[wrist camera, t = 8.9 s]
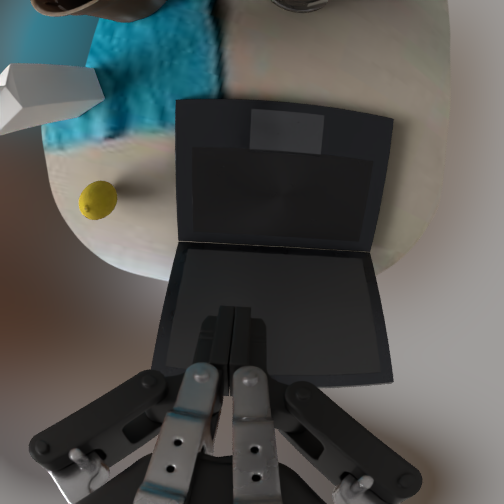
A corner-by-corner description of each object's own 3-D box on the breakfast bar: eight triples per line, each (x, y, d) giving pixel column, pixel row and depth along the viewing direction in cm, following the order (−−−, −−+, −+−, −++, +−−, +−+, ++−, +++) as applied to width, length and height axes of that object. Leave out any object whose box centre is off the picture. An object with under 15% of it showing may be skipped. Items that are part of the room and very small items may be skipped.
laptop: (179, 99, 37) (175, 99, 35) (388, 118, 37) (394, 118, 35) (181, 235, 47) (178, 241, 45) (366, 246, 47) (370, 252, 45)
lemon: (131, 192, 43) (108, 210, 36) (112, 214, 45) (89, 235, 38) (108, 168, 42) (82, 182, 34) (90, 191, 43) (64, 208, 36)
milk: (105, 99, 36) (3, 112, 17) (76, 118, 37) (-26, 145, 18) (94, 67, 34) (-10, 63, 14) (65, 87, 35) (-39, 99, 15)
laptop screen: (149, 375, 32) (151, 377, 33) (394, 381, 32) (391, 383, 33) (178, 240, 45) (179, 244, 46) (370, 251, 45) (368, 255, 46)
